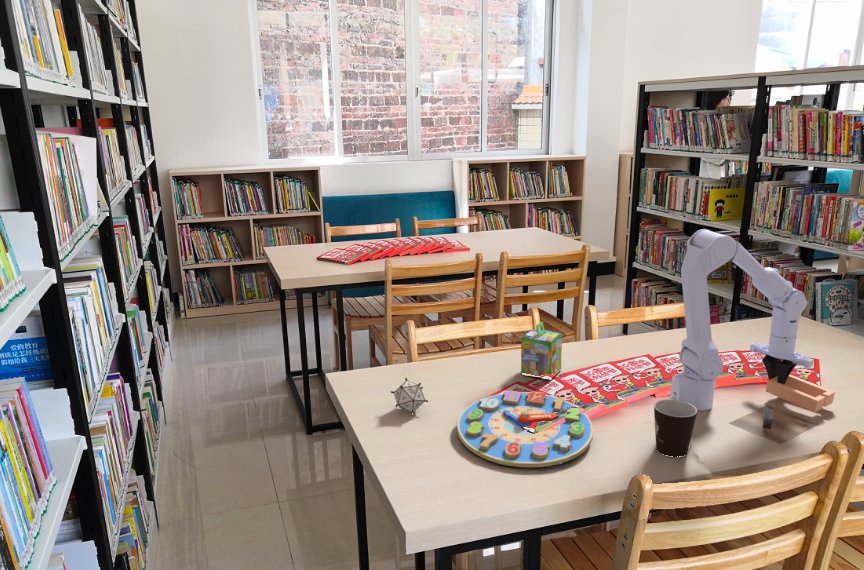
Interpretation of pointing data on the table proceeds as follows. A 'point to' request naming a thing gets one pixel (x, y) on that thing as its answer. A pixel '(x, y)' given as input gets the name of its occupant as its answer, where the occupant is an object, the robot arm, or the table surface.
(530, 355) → the chalk box
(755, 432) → the stand base
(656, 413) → the coffee mug
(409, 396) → the game die
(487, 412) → the shape sorting clock
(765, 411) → the hook post
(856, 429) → the table surface
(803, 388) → the c link
